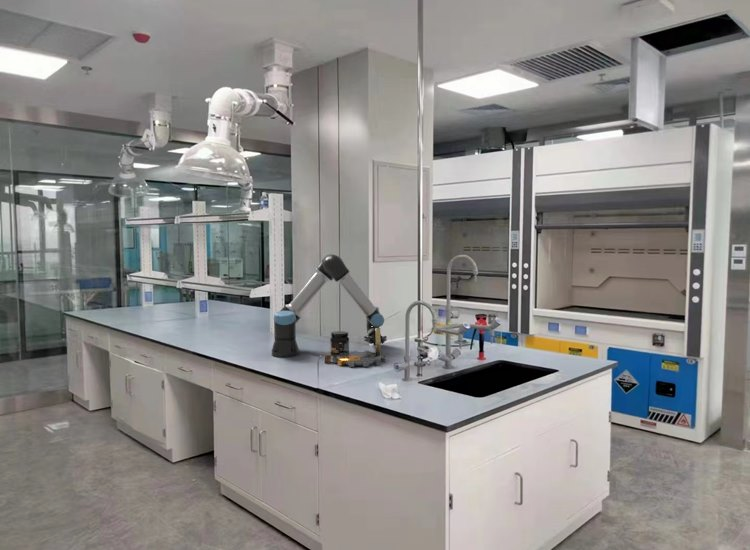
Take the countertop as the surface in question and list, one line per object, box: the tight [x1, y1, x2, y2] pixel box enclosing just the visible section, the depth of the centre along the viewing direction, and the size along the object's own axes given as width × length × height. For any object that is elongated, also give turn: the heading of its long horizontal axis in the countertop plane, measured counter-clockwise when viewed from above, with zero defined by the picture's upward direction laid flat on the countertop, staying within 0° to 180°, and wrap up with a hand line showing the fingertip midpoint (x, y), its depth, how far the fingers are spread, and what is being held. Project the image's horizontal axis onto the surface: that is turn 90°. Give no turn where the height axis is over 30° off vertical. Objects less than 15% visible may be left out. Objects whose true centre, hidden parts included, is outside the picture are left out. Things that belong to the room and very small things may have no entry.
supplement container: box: [329, 330, 350, 356], centre depth 286 cm, size 10×10×12 cm
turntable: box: [332, 327, 387, 368], centre depth 268 cm, size 28×28×16 cm
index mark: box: [324, 353, 332, 364], centre depth 267 cm, size 3×4×4 cm
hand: (378, 344), depth 276 cm, fingers closed
